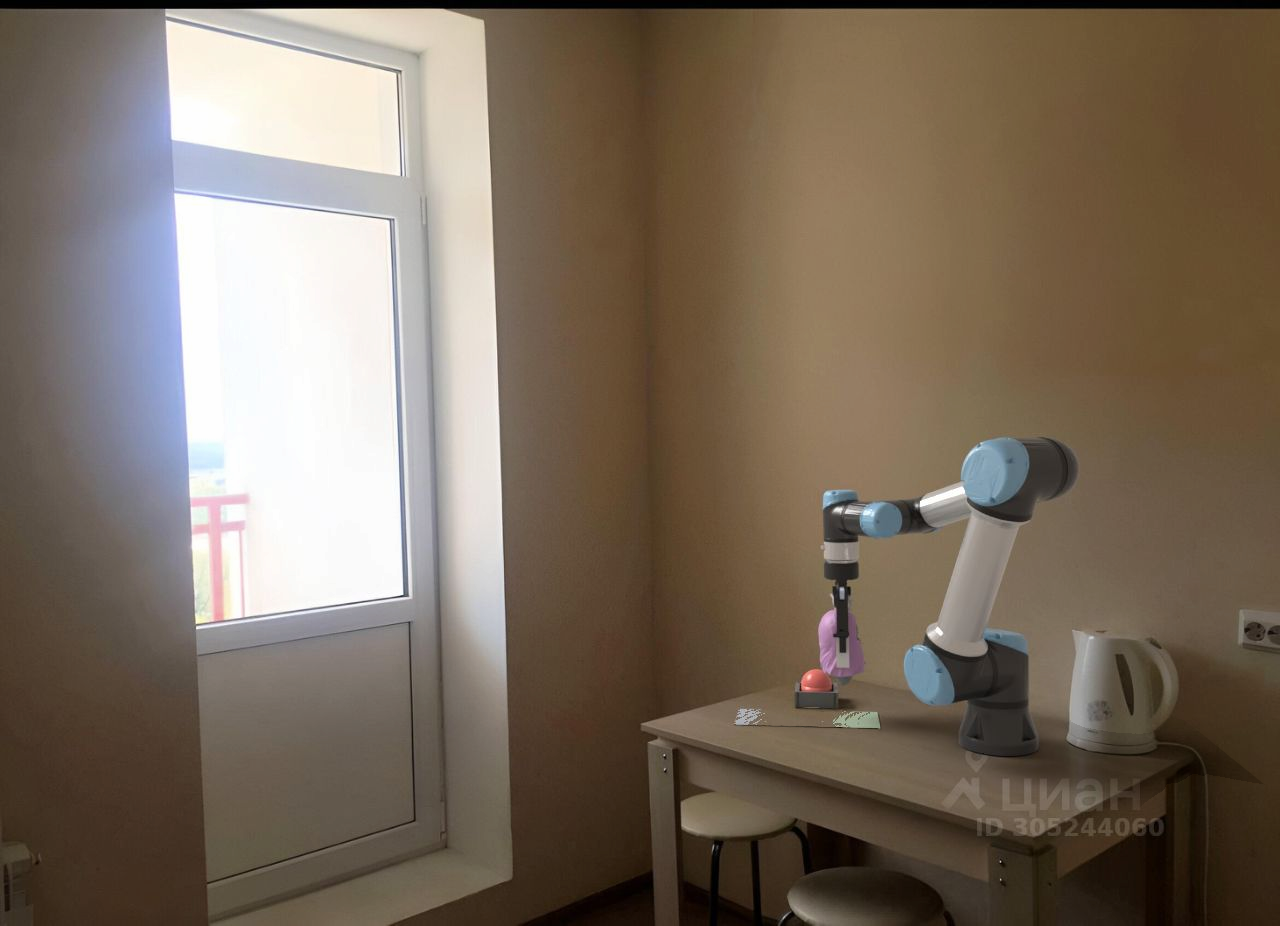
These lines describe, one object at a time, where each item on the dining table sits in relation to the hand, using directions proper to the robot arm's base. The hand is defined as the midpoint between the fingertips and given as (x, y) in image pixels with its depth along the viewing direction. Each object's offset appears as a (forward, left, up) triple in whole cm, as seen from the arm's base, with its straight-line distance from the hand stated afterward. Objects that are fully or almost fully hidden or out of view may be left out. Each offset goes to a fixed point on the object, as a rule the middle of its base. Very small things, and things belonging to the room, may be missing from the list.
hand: (842, 661), depth 231 cm
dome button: (+14, +6, -12) cm, 19 cm away
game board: (0, +8, -13) cm, 15 cm away
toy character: (0, 0, -5) cm, 5 cm away
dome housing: (+14, +6, -13) cm, 20 cm away
